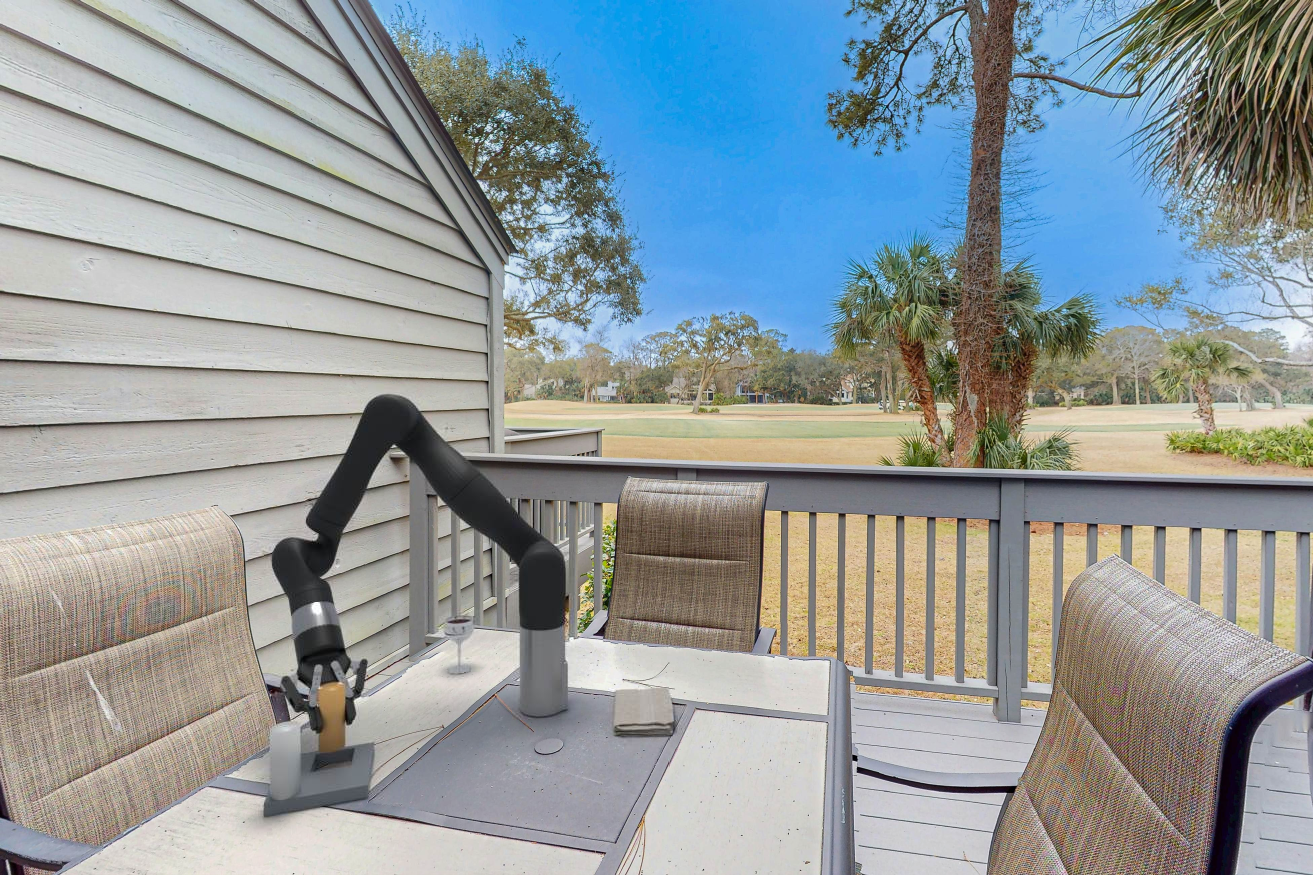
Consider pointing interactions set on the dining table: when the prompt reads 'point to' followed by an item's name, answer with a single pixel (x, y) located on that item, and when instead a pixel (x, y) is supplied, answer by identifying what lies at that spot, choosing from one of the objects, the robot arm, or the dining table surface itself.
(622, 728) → the washcloth
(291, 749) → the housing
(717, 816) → the dining table surface
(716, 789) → the dining table surface
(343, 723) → the orange cylinder
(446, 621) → the wineglass
